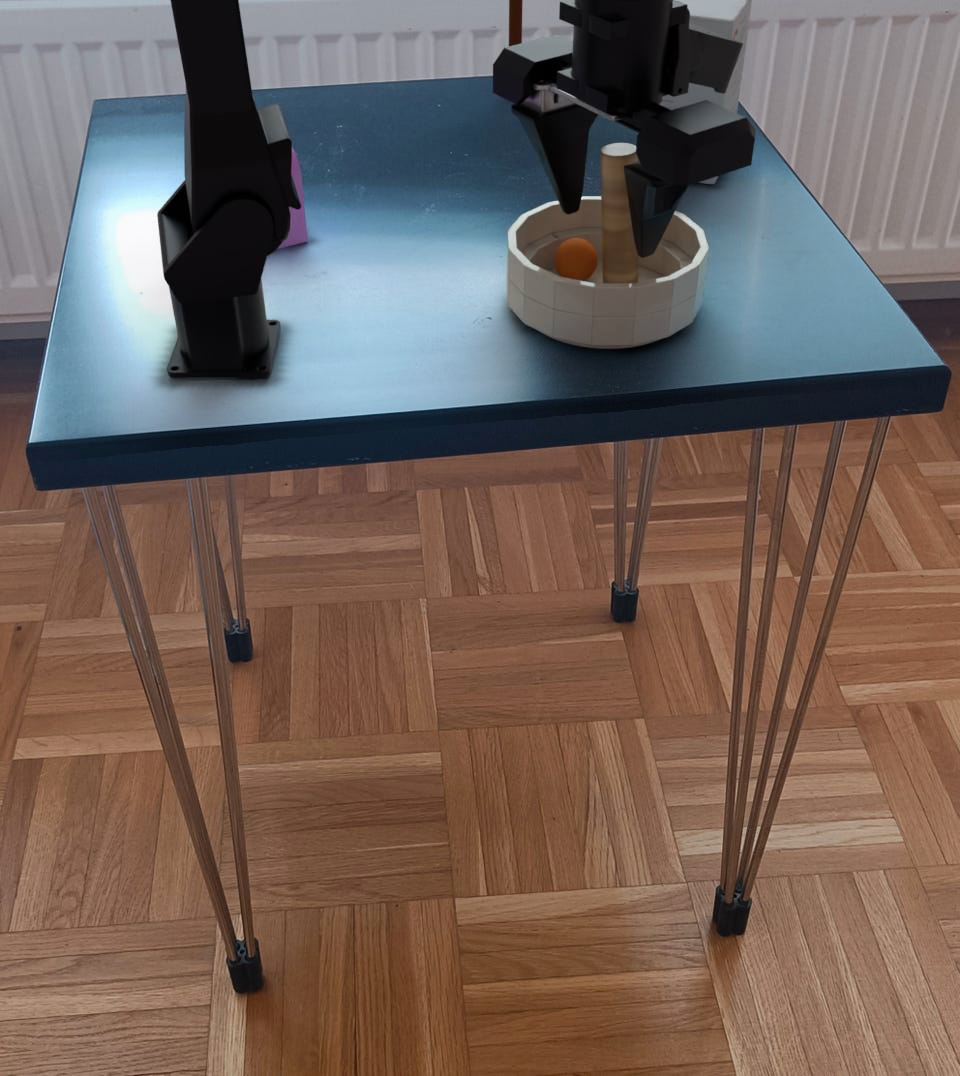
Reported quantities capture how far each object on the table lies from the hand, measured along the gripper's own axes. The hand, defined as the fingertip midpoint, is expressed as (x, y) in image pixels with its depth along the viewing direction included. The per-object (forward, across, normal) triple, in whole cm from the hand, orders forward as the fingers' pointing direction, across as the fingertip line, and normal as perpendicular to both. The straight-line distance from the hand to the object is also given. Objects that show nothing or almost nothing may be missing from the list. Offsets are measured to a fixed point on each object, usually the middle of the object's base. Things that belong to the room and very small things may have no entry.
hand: (607, 233), depth 82 cm
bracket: (+6, +27, +14) cm, 31 cm away
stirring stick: (+4, 0, -1) cm, 5 cm away
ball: (+3, +3, 0) cm, 4 cm away
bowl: (+5, 0, 0) cm, 5 cm away
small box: (+6, +14, -21) cm, 26 cm away
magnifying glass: (+6, +36, -19) cm, 41 cm away
